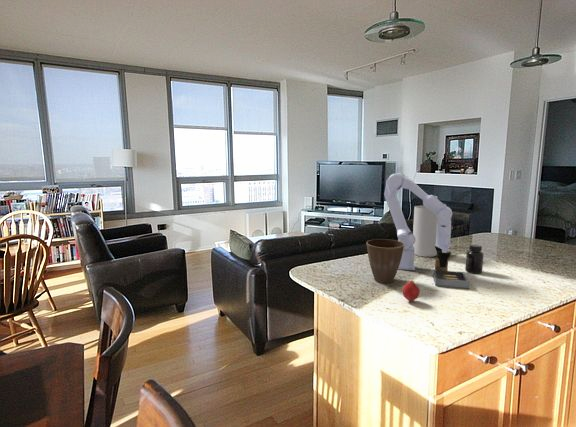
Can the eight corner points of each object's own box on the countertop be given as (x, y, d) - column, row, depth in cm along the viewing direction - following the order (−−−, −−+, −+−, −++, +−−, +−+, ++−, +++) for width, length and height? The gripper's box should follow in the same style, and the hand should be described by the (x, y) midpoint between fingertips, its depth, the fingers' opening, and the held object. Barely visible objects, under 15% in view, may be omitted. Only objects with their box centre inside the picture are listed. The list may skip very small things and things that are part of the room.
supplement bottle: (484, 274, 155) (486, 247, 153) (467, 273, 156) (469, 247, 154) (479, 269, 161) (481, 244, 159) (463, 268, 163) (465, 243, 161)
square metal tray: (435, 286, 141) (435, 278, 141) (432, 276, 153) (433, 269, 152) (468, 289, 138) (469, 281, 137) (463, 279, 149) (463, 272, 149)
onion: (399, 298, 129) (400, 277, 128) (414, 298, 129) (415, 277, 128) (405, 305, 123) (406, 283, 122) (421, 304, 124) (423, 282, 122)
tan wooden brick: (435, 272, 158) (435, 259, 157) (434, 271, 159) (435, 258, 158) (447, 273, 157) (448, 260, 156) (446, 272, 158) (447, 259, 157)
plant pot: (401, 288, 139) (403, 248, 136) (362, 284, 144) (364, 245, 141) (403, 276, 152) (404, 240, 150) (368, 273, 158) (369, 237, 155)
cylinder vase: (439, 253, 190) (442, 206, 186) (434, 258, 179) (437, 209, 175) (415, 249, 196) (417, 205, 192) (409, 255, 186) (411, 207, 182)
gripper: (455, 238, 147) (453, 270, 149) (451, 231, 161) (449, 260, 163) (437, 237, 149) (435, 268, 151) (434, 231, 163) (432, 259, 165)
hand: (441, 264), depth 157 cm, fingers open, 7 cm apart
